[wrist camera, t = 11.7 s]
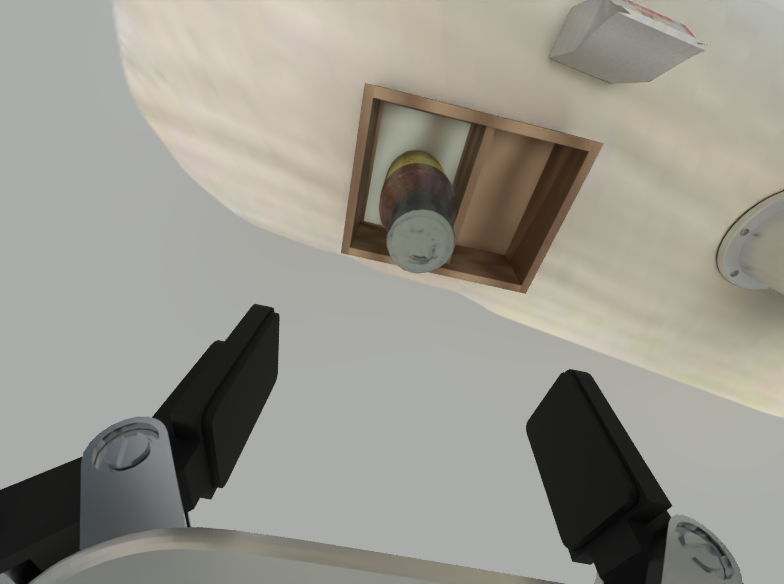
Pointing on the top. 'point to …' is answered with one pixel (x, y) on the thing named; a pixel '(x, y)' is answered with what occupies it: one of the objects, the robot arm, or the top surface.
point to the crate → (469, 183)
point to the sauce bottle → (418, 212)
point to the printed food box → (622, 42)
